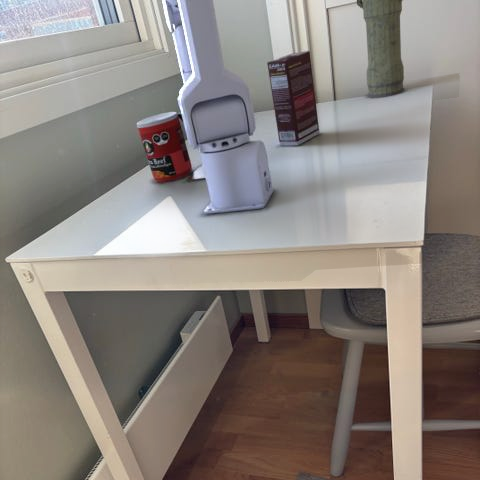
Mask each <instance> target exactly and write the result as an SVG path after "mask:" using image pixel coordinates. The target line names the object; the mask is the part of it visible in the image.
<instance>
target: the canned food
mask: <svg viewBox="0 0 480 480" xmlns="http://www.w3.org/2000/svg"><path fill="white" fill-rule="evenodd" d="M136 129H137V131H138V134H139V137H140V141H141V143H142V147H143V150H144V153H145V156H146V160H147V162H148V165H149V169H150V171H151V175H152V177H153V180H154V181H155V182H159V183H165V182H166V183H167V182H170V181H171V182H172V181H174V180H175V181H176V180H178V179H181V178H183V177H185V176H187V175H190V173H191V172H192V167H193V166H192V162H191V159H190V154H189V151H188V147H187V143H186V139H185V135H184V132H183V127H182V125H181V120H180V118H179V117H178V112H176V111H169V112H163V113H159V114H155V115H152V116H148V117H146V118H143V119H141V120H138V122H137V123H136Z"/></svg>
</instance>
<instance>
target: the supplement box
mask: <svg viewBox="0 0 480 480" xmlns="http://www.w3.org/2000/svg"><path fill="white" fill-rule="evenodd" d="M266 64H267V72H268V77H269V78H268V79H269V84H270V89H271V90H270V91H271V96H272V97H271V98H272V102H273V109H274V110H273V111H274V116H275V123H276V129H277V136H278V142H279V143H278V144H279V146H280V147H296V146H297V147H298V146H299V145H302V144H304V143H305V142H307V141H309V140H311V139H312V138H314V137H316V136H318V135H319V134H320V125H319V118H318V117H319V116H318V110H317V100H316V92H315V83H314V78H313V77H314V75H313V67H312V59H311V51H310V50H304V51H298V52H293V53H290V54H289V53H288V54H287V55H283V56H281V57H279V58H276V59H273V60H269V61H266Z"/></svg>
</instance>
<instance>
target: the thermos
mask: <svg viewBox="0 0 480 480" xmlns="http://www.w3.org/2000/svg"><path fill="white" fill-rule="evenodd" d="M403 1H404V0H356V5H357V6H358V7H359V8H360V9H362V11H363V12H362V13H363V19H364V22H365V29H366V31H365V32H366V46H367V47H366V48H367V69H366V85H367V90H368V93H367V94H368V95H367V96H368V97H369V98H385V97H390V96H394V95H398V94H401V93H403V92H404V80H405V73H404V72H405V71H404V70H405V69H404V63H403V60H402V43H401V41H402V40H401V14H402V12H403Z"/></svg>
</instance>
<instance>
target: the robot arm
mask: <svg viewBox="0 0 480 480" xmlns="http://www.w3.org/2000/svg"><path fill="white" fill-rule="evenodd" d="M161 1H162V2H161V3H162V7H163V11H164V16H165V20H166V24H167V27H168V29H169V31H170V33H172V39H173V42H174V46H175V52H176V55H177V60H178V65H179V68H180V69H179V70H180V72H181V77H182V82H183V86H182V87H181V88H180V90H179V95H178V97H177V103H178V106H179V109H180V111H179V112H177V115H178V117H179V120H180V121H181V122H182V123H183V126H184V130H185V135H186V139H187V142H188V146H189V147H190V148H192V149H193V150H196V149H197V150H198V152H199V155H200V160H201V165H202V164H203V168H204V173H205V177H206V179H205V181H206V186H207V189H208V194H209V199H210V202H209V204H208V205H207V206H206V207H205V209H204V210H203V213H204V214H205V215H207V214H208V215H209V214H217V213H230V212H238V211H239V212H240V211H248V210H249V211H250V210H257V209H258V210H259V209H264V208H265V207H266V205H267V204H268V201H269V200H270V198H271V196H272V194H273V192H274V187H273V184H272V177H271V172H270V166H269V160H268V159H269V158H268V154H267V149H266V146H265V142H264V141H263V140H260V139H259V140H251V139H250V137H252V136H253V135H254V133H255V131H256V129H257V127H256V126H257V125H256V115H255V111H254V105H253V103H252V99H251V95H250V90H249V89H250V88H249V86H248V83H247V82H246V80H245V78H243V77H242V76H241V75H239V74H238V73H236V72H234V71H232V70H230V69H228V68H226V67H225V64H224V57H223V51H222V45H221V40H220V34H219V28H218V23H217V22H218V21H217V17H216V10H215V5H214V0H161ZM172 27H173V29H174V30H173V32H172Z"/></svg>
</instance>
